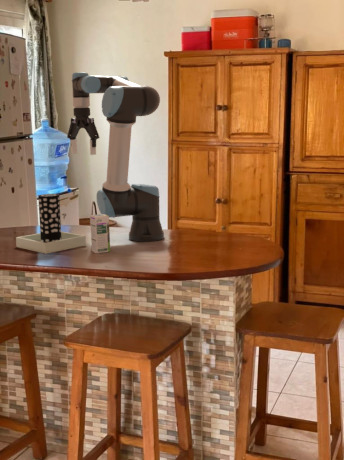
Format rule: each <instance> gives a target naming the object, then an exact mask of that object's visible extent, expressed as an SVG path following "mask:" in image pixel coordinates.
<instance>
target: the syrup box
mask: <svg viewBox="0 0 344 460" xmlns="http://www.w3.org/2000/svg"><path fill="white" fill-rule="evenodd" d="M89 220H90V221H89V222H90V236H91V237H90V239H91V240H90V241H91V243H90V244H91V251H92V252H93V253H95V254H104V253H111V237H110V236H111V235H110V234H111V233H110V217H109V216H108V215H106V214H101V213H100V214H91V215H89Z"/></svg>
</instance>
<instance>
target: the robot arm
mask: <svg viewBox="0 0 344 460" xmlns="http://www.w3.org/2000/svg"><path fill="white" fill-rule="evenodd" d="M71 76H72V77H71V82H72V83H71V84H72V86H71V87H72V97H73V98H72V106H73V107H74V108H73V116H74V117H71V118H70V125H69V127H68V128H69V129H68V133H67V136H66V137H67V139H69V140H70V147H71V154H72V155H75V154H77V155H78V145H77V135H78V134H79V132H80V130H81V129H84V130H85V131H86V132H87V135H88V137H89V138H90V139H89V152H90V154H89V155H91V156H93V155H97V140H98V139H100V135H99V133H98V129H97V126H96V123H95V118H94V117H91V108H90V107H91V104H90V97H91V96H90V94H103V95H102V100H101V113H102V115H103V116H104V117H105V118H106V121H107V122H108V124H109V135H108V136H109V137H108V149H107V150H108V154H107V167H106V168H107V169H106V180H105V181H104V182H103V183H102V186H101V187H102V188H101V189H98V191H97V192H96V203H97V207H98V211H99V212H100V214H106V215H108V216H109V218H119V217H130V216H132V218H131V219H132V221H131V225H130V230H129V232H128V239H129V240H131V241H134V242H155V241H160V240H161V241H162V240H163V239H164V238H165V232H164V230H163V227H162V223H161V220H160V219H161V218H160V216H161V215H160V192H159V191H160V190H159V188H158V187H157V186H155V185H150V184H144V183H143V184H142V183H132V184H130V183H129V182H128V179H129V167H130V166H129V165H130V153H131V152H130V151H131V142H132V141H131V140H132V139H131V138H132V137H131V136H132V128H133V125H135V124H136V122H137V117H146V116H150V115H151V114H153V113H155V111H156V110H158V108H159V106H160V103H161V96H160V94H159V92H158V91H157V90H156V89H155V88H154V87H152V86H149V85H139V84H138V83H134V82H132V81H130V80H129V78H128V77H127V76H122V75H112V76H111V75H92V74H91V75H90V74H89V73H88V72H86V71H85V72H84V71H81V72H80V71H78V72H73V73H72V74H71Z"/></svg>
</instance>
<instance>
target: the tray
mask: <svg viewBox="0 0 344 460" xmlns="http://www.w3.org/2000/svg"><path fill="white" fill-rule="evenodd" d="M15 242H16V248H19V249H23V250H24V249H25V250H29V251H33V252H35V253H36V252H37V253H41V254H45V255H47V254H50V253H51V254H52V253H56V252H60V251H66V250H71V249H74V248H81V247H84V246H87V237H86V235H83V234H78V233H73V232H67V231H62V230H61V240H58V241H53V242H47V243H44V242H41V235H40V232H39V233H34V234H28V235H21V236H17V237H16V236H15Z"/></svg>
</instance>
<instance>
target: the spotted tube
mask: <svg viewBox="0 0 344 460" xmlns="http://www.w3.org/2000/svg"><path fill="white" fill-rule="evenodd" d="M37 196H38V197H37V198H38V211H39V212H38V213H39V215H38V216H39V230H40V231H39V233H40V235H41V242H44V243H47V242H53V241H58V240H61V231H62V226H61V225H62V224H61V204H60V203H61V202H60V194H59V193H43V194H42V193H41V194H39V195H37Z"/></svg>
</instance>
